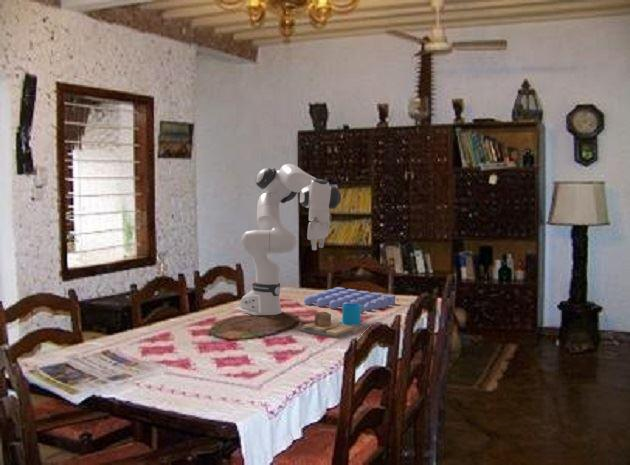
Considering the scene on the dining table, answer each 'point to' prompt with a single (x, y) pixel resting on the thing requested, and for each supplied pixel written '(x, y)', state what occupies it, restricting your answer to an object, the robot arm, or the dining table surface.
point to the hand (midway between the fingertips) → (317, 248)
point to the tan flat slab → (317, 328)
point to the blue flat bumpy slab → (350, 299)
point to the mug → (351, 314)
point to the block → (322, 319)
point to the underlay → (331, 331)
